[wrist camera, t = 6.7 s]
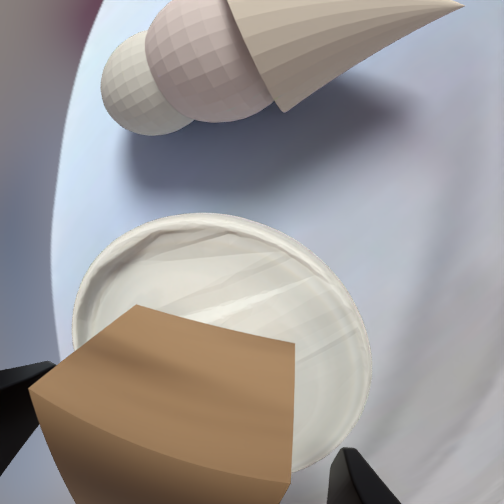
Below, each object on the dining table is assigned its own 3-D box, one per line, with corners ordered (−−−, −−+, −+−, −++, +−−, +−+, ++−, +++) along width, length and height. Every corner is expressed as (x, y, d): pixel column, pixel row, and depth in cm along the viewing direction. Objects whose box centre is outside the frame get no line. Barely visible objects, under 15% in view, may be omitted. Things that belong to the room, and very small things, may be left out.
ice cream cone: (442, 51, 10) (168, 125, 15) (413, -59, 6) (111, 36, 11) (515, 104, 6) (128, 199, 11) (493, -62, 2) (36, 80, 7)
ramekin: (193, 159, 13) (137, 144, 8) (395, 294, 13) (441, 346, 8) (104, 337, 16) (49, 383, 11) (264, 437, 16) (253, 506, 11)
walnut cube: (261, 450, 10) (241, 561, 5) (137, 415, 10) (75, 503, 5) (295, 343, 9) (291, 483, 4) (136, 304, 9) (28, 388, 4)
